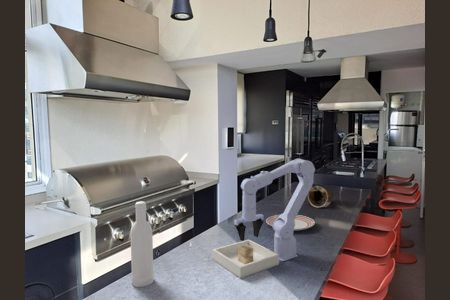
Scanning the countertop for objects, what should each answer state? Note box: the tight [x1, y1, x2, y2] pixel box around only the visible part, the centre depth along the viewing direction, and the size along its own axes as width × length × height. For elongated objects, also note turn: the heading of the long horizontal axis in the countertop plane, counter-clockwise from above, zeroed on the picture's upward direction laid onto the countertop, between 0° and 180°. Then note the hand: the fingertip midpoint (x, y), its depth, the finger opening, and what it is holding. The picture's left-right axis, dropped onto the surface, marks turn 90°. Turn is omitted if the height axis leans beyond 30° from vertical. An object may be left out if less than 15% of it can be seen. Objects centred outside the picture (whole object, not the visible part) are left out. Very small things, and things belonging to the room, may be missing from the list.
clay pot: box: [307, 185, 334, 209], centre depth 219 cm, size 15×15×25 cm
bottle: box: [129, 200, 155, 288], centre depth 110 cm, size 8×8×30 cm
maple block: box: [238, 244, 253, 265], centre depth 126 cm, size 4×4×6 cm
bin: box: [211, 239, 280, 280], centre depth 127 cm, size 20×20×4 cm
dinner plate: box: [265, 214, 316, 232], centre depth 173 cm, size 27×27×3 cm
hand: (249, 238), depth 129 cm, fingers open, 7 cm apart
